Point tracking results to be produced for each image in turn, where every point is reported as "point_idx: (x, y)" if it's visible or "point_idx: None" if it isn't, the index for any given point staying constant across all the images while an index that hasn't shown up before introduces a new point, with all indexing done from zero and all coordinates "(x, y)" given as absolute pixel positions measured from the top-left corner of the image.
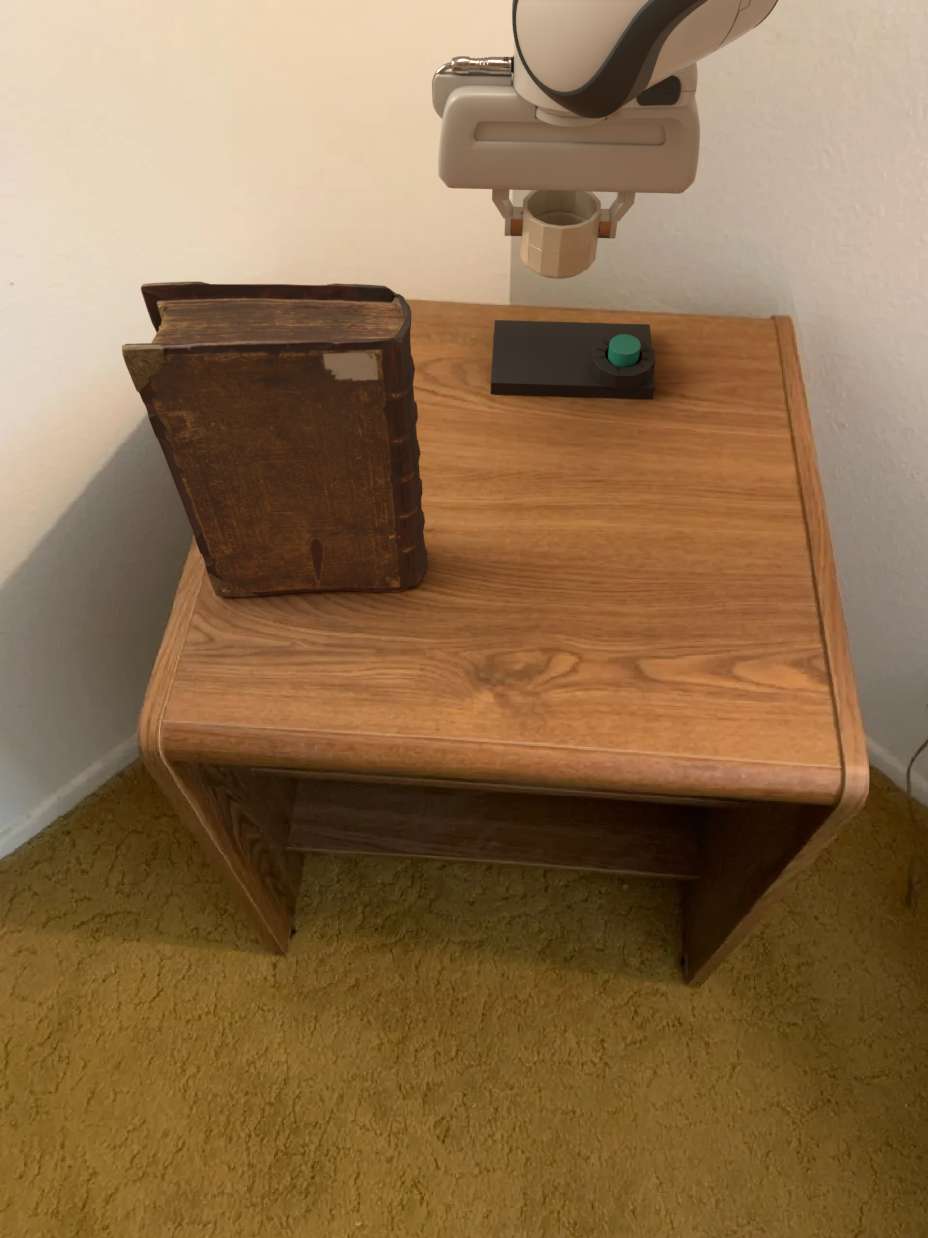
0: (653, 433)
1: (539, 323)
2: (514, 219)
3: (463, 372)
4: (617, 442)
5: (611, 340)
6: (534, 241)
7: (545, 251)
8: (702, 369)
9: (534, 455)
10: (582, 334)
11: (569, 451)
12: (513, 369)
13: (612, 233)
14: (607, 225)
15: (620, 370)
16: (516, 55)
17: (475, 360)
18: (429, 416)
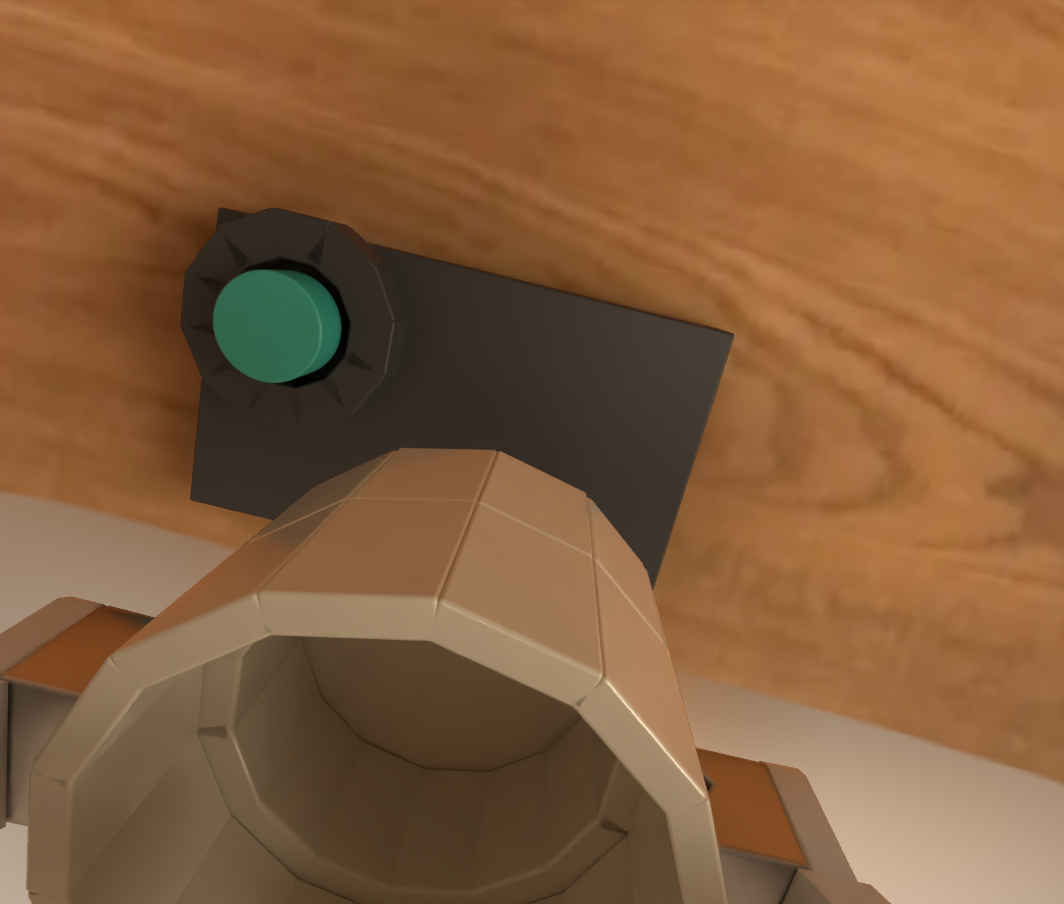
0: (266, 52)
1: None
2: (781, 855)
3: (777, 441)
4: (386, 30)
5: (312, 356)
6: (644, 634)
7: (574, 544)
8: (76, 316)
9: (661, 17)
10: None
11: (545, 15)
12: (647, 381)
13: (62, 615)
14: (56, 659)
15: (311, 241)
16: None
17: (728, 484)
18: (937, 267)
